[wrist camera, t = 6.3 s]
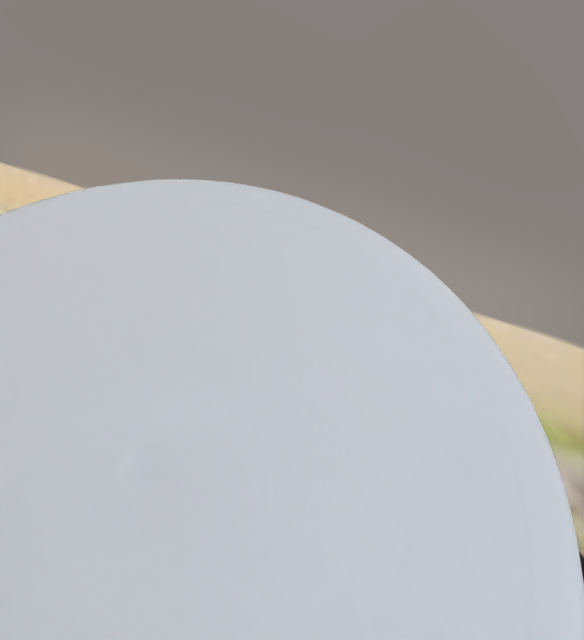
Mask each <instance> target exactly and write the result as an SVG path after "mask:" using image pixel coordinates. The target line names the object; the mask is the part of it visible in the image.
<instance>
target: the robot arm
mask: <svg viewBox="0 0 584 640" xmlns="http://www.w3.org/2000/svg"><path fill="white" fill-rule="evenodd" d="M579 556H580V562H581V569H582V575H583V581H584V558H583V557H582V555H581V554H580V552H579Z"/></svg>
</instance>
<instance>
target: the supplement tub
mask: <svg viewBox="0 0 584 640" xmlns="http://www.w3.org/2000/svg"><path fill="white" fill-rule="evenodd" d="M0 640H584V581H583V575H582V569H581V562H580V556H579V550H578V543H577V538H576V533H575V529H574V524H573V520H572V515H571V511H570V506H569V502H568V497H567V493H566V489H565V486H564V483H563V480H562V477H561V474H560V471H559V468H558V466H557V463H556V460H555V457H554V454H553V451H552V448H551V445H550V443H549V440H548V438H547V436H546V434H545V431H544V429H543V427H542V425H541V422H540V420H539V418H538V416H537V413H536V411H535V409H534V407H533V404H532V402H531V400H530V398H529V397H528V395H527V393H526V391H525V389H524V388H523V386H522V384H521V382H520V380H519V379H518V377H517V375H516V373H515V371H514V370H513V368H512V366H511V364H510V363H509V361H508V360H507V358H506V357H505V356H504V354H503V353H502V351H501V350H500V348H499V347H498V346H497V344H496V343H495V341H494V340H493V338H492V337H491V336H490V334H489V333H488V331H487V330H486V329H485V328H484V327H483V325H482V324H481V323H480V322H479V320H478V319H477V318H476V317H475V316H474V314H473V313H472V312H471V311H470V310H469V309H468V308H467V307H466V306H465V304H464V303H463V302H462V301H461V300H460V299H459V298H458V297H457V296H456V295H455V294H454V293H453V292H452V291H451V290H450V289H449V288H448V287H447V286H445V284H444V283H443V282H442V281H441V280H439V278H438V277H437V276H436V275H435V274H433V273H432V272H431V271H430V270H428V269H427V268H426V267H425V266H423V265H422V264H421V263H420V262H419V261H417V260H416V259H415V258H413V257H412V256H411V255H409V254H408V253H407V252H405V251H404V250H402V249H401V248H399V247H398V246H396V245H395V244H394V243H392V242H391V241H389V240H388V239H386V238H384V237H383V236H381V235H380V234H378V233H376V232H374V231H373V230H371V229H369V228H367V227H366V226H364V225H362V224H360V223H358V222H356V221H354V220H352V219H350V218H348V217H346V216H344V215H342V214H339V213H337V212H335V211H332V210H330V209H327V208H325V207H322V206H320V205H318V204H315V203H312V202H310V201H307V200H304V199H301V198H299V197H295V196H291V195H288V194H285V193H281V192H278V191H273V190H269V189H264V188H260V187H255V186H249V185H243V184H237V183H231V182H220V181H209V180H192V179H191V180H190V179H179V180H147V181H137V182H128V183H119V184H110V185H104V186H98V187H91V188H87V189H82V190H78V191H74V192H70V193H66V194H62V195H59V196H55V197H51V198H48V199H44V200H41V201H38V202H35V203H32V204H29V205H25V206H23V207H20V208H17V209H14V210H11V211H8V212H6V213H3V214H1V215H0Z"/></svg>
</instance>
